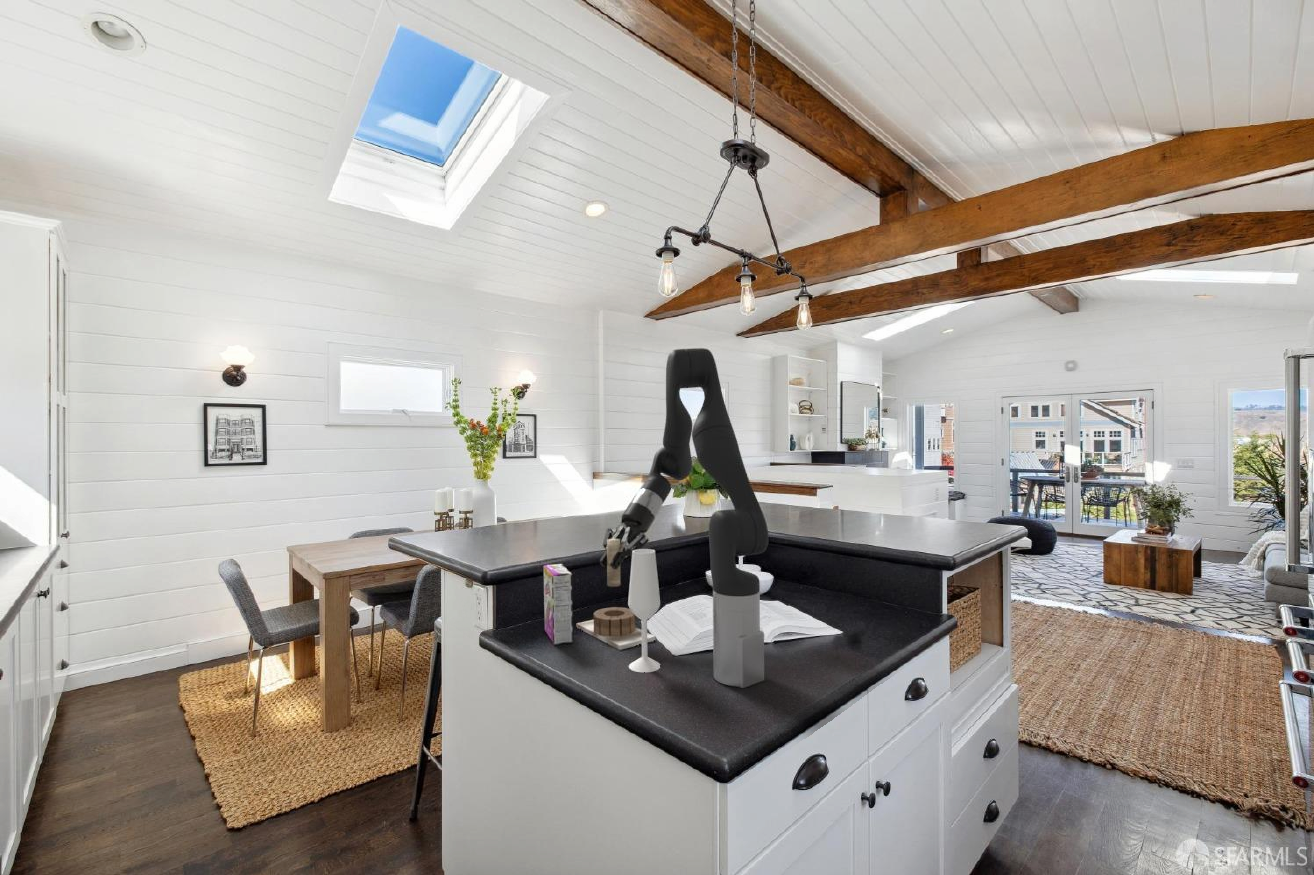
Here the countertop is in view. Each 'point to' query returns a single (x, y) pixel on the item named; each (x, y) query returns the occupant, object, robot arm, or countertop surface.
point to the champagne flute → (644, 600)
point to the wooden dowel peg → (612, 574)
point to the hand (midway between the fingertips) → (607, 565)
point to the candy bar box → (558, 603)
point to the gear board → (615, 628)
